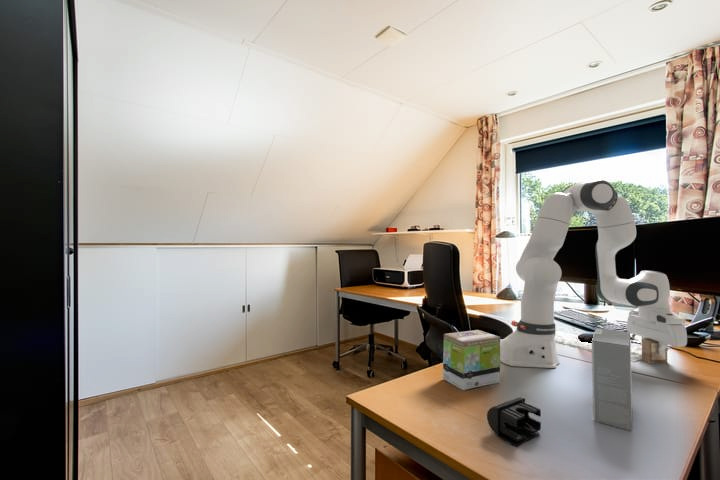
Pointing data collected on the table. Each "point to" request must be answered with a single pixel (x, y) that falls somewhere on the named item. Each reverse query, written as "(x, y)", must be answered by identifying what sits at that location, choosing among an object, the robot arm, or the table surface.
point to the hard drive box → (612, 378)
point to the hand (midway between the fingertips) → (654, 351)
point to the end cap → (514, 421)
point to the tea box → (471, 359)
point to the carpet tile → (574, 342)
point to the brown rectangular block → (652, 352)
